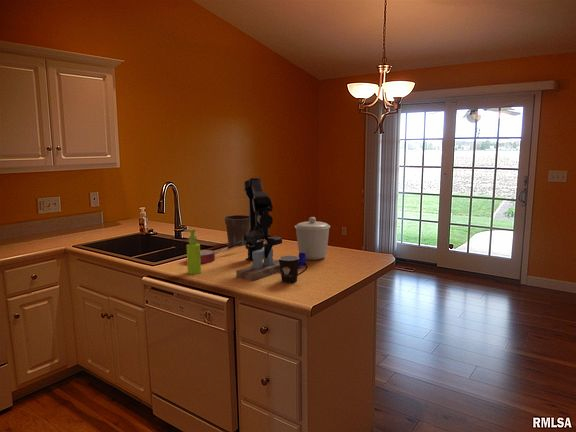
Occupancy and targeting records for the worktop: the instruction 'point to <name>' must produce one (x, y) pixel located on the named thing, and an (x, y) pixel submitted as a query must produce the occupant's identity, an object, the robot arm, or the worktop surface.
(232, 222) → the plant pot
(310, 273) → the worktop surface
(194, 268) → the soap dispenser
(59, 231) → the worktop surface
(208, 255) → the frying pan
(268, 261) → the grey channel block
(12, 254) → the worktop surface
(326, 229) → the canister
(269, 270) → the rail
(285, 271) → the coffee mug
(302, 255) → the cable clip
